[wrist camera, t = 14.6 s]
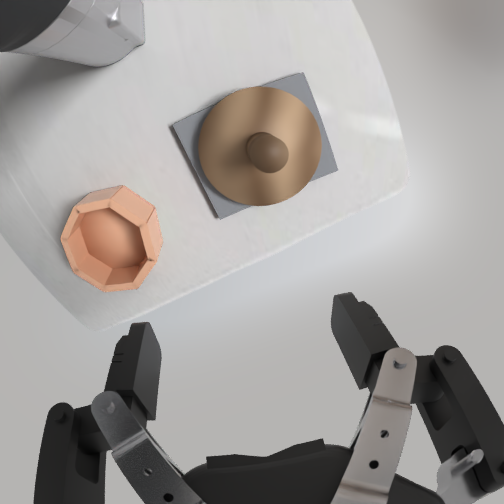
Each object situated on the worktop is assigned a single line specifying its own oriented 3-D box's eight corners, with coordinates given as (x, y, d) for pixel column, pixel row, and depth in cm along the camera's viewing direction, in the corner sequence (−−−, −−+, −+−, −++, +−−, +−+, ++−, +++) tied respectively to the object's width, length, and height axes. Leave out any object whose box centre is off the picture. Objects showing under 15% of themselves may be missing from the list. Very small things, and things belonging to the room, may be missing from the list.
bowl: (149, 180, 32) (140, 192, 28) (168, 264, 38) (164, 285, 34) (68, 197, 31) (51, 212, 27) (94, 273, 37) (82, 294, 33)
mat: (301, 72, 28) (303, 72, 27) (335, 168, 34) (338, 170, 34) (173, 124, 29) (172, 124, 29) (220, 217, 36) (220, 219, 35)
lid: (315, 86, 28) (336, 83, 23) (318, 196, 35) (337, 215, 30) (192, 93, 27) (186, 91, 22) (207, 209, 34) (206, 230, 29)
